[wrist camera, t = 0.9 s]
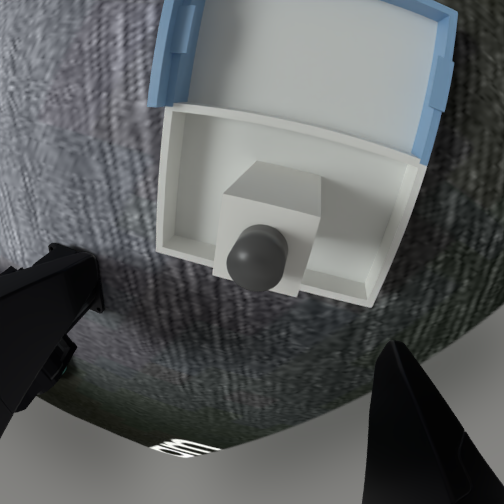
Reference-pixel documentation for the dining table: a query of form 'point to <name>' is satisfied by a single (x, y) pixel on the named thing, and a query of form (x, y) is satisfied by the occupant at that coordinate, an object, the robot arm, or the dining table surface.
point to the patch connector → (268, 228)
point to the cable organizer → (302, 120)
